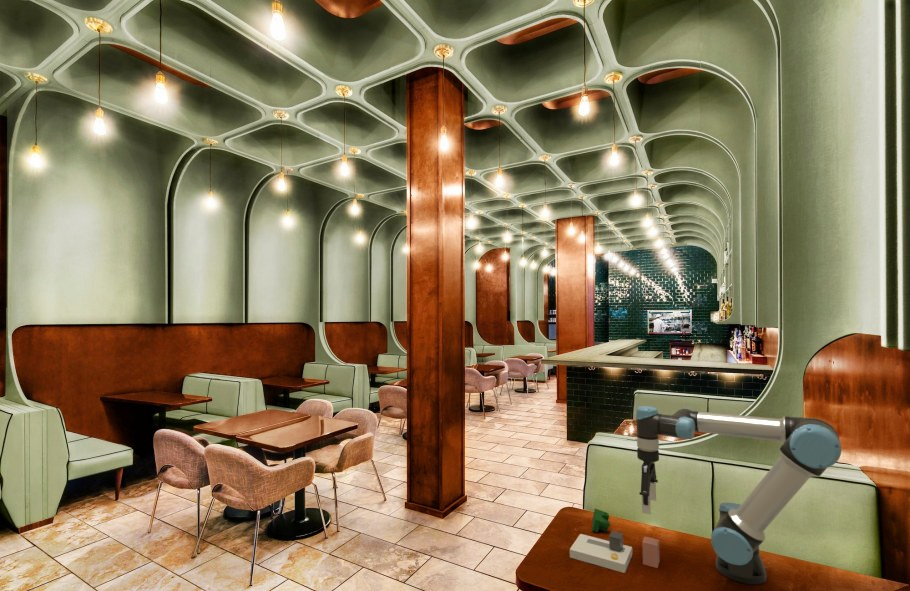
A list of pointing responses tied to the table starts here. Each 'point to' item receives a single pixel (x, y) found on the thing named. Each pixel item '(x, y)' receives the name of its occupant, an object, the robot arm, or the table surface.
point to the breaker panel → (600, 553)
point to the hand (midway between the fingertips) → (649, 506)
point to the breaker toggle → (616, 541)
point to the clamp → (600, 521)
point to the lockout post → (651, 552)
